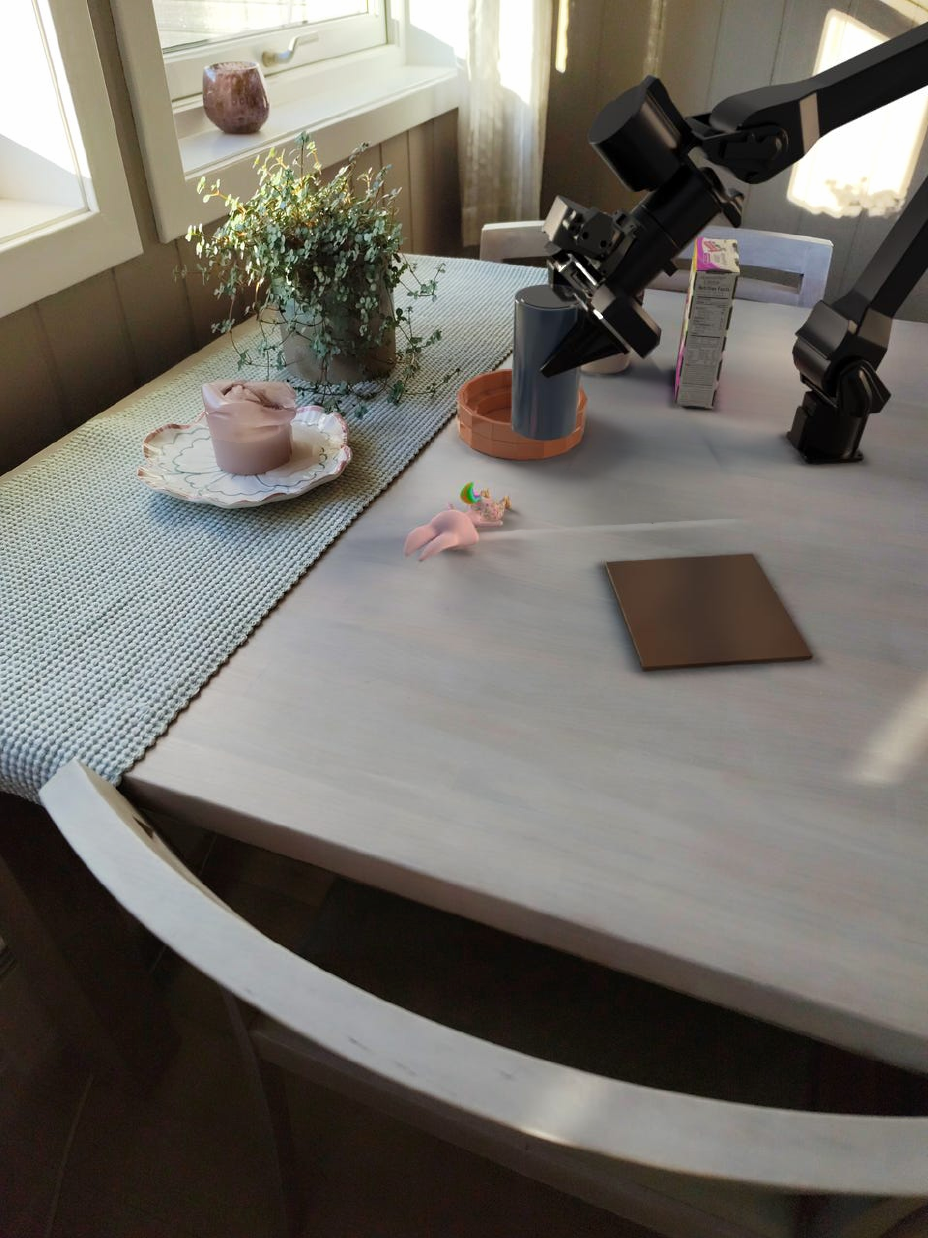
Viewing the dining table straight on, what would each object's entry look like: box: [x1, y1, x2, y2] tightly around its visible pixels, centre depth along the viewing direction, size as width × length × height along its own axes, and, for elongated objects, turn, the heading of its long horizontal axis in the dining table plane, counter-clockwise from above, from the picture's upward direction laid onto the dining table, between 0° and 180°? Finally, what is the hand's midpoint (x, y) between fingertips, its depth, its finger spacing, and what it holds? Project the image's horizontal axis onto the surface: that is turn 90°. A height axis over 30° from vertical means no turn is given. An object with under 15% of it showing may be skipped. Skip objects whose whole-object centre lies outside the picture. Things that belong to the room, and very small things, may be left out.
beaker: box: [510, 283, 587, 441], centre depth 83 cm, size 7×7×13 cm
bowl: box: [456, 368, 588, 461], centre depth 98 cm, size 14×14×4 cm
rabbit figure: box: [404, 481, 512, 563], centre depth 81 cm, size 6×6×15 cm
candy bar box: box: [674, 236, 741, 410], centre depth 102 cm, size 11×5×16 cm, turn 168°
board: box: [604, 553, 814, 672], centre depth 75 cm, size 14×14×1 cm
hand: (533, 358), depth 82 cm, fingers closed on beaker, 6 cm apart
